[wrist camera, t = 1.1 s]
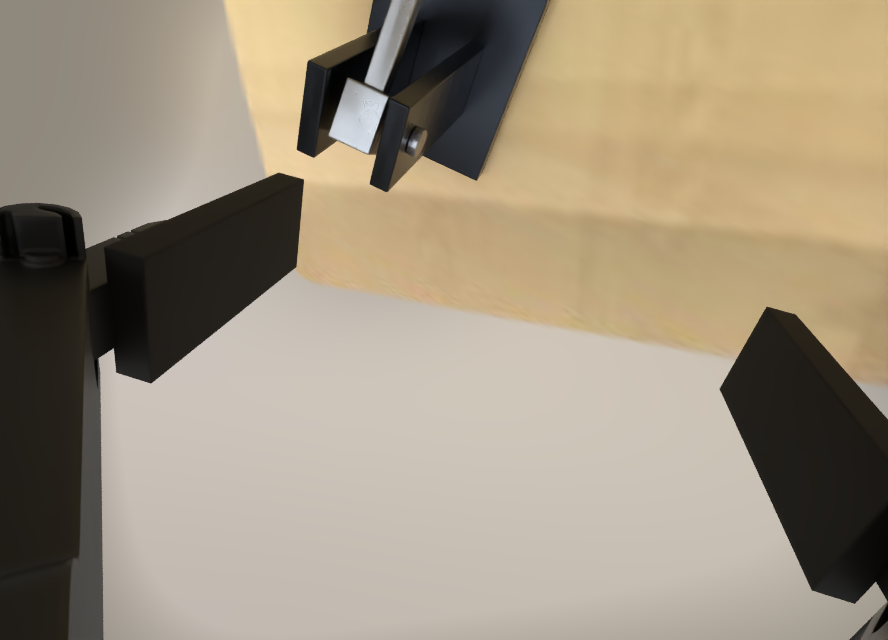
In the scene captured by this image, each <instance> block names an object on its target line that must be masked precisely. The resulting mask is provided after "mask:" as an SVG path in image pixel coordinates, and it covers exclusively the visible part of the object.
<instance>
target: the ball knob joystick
mask: <svg viewBox="0 0 888 640" xmlns="http://www.w3.org/2000/svg"><path fill="white" fill-rule="evenodd" d="M422 1H423V0H391V3H390V6H389V9H388V12H387V15H386V18H385V20H384V23H383V26H382V29H381V32H380V35H379V38H378V41H377V44H376V47H375V50H374V53H373V56H372V59H371V62H370V65H369V67H368V70H367V73H366V76H365V79H364V83H362V82H359V81H357V80H354V79H351V78H347V79H346V82H345V85H344V88H343V91H342V94H341V97H340V100H339V103H338V106H337V109H336V112H335V115H334V118H333V121H332V124H331V127H330V130H329V133H328V136H329V137H331V138H333V139H335V140H337V141H339V142H341V143H343V144H346V145H348V146H350V147H352V148H354V149H356V150H358V151H360V152H363V153H365V154H367V155H377V150H378V146H379V142H380V138H381V134H382V129H383V125H384V121H385V117H386V113H387V108H388V104H389V100H390V98H392V97H393V96H390V95H388V94H389V93H390V90H391V87H392V85H393V82H394V79H395V76H396V74H397V71H398V68H399V65H400V62H401V60H402V57H403V54H404V51H405V49H406V46H407V43H408V40H409V37H410V35H411V32H412V29H413V26H414V24H415V21H416V18H417V15H418V12H419V10H420V7H421V4H422Z"/></svg>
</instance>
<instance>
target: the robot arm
mask: <svg viewBox="0 0 888 640" xmlns="http://www.w3.org/2000/svg"><path fill="white" fill-rule="evenodd" d="M303 185H304V179H300V178H296V177H293V176H289V175H285V174H282V173H277V174H275V175H272V176H270V177H268V178H265V179H263V180H261V181H258V182H256V183H254V184H251V185H249V186H246V187H244V188H242V189H239V190H237V191H235V192H232V193H230V194H228V195H225V196H223V197H221V198H219V199H216V200H214V201H211V202H209V203H207V204H204V205H202V206H199V207H197V208H195V209H192V210H190V211H187V212H185V213H183V214H180V215H178V216H176V217H173V218H171V219H169V220H164V221H158V222H153V223H147V224H145V225H142V226H140V227H138V228H135V229H133V230H131V232H125V233H123V234H121V235H118V236H117V238H111V239H108V240H106V241H104V242H101V243H99V244H96V245H94V246H91V247H89V248H87V249H85V241H84V232H83V224H82V217H81V215H80V214H79V212H77V211H75V210H73V209H71V208H68V207H64V206H60V205H55V204H44V203H23V204H16V205H8V206H4V207H1V208H0V640H103V573H102V572H103V571H102V569H103V568H102V567H103V566H102V490H101V489H102V487H101V413H100V412H101V409H100V408H101V403H100V368H99V359H98V358H99V357H101V356H102V355H104V354H105V353H107V352H108V351H110V350H112V349H113V348H114V353H115V363H116V372H117V373H119V374H122V375H126V376H129V377H132V378H135V379H139V380H142V381H145V382H148V383H152V382H153V381H155V380H156V379H157V378H159V377H160V376H161V375H162V374H164V373H165V372H166V371H167V370H169V369H170V368H171V367H172V366H174V365H175V364H176V363H177V362H179V361H180V360H181V359H182V358H183V357H185V356H186V355H187V354H188V353H190V352H191V351H192V350H193V349H195V348H196V347H197V346H198V345H200V344H201V343H202V342H203V341H205V340H206V339H207V338H208V337H210V336H211V335H212V334H213V333H214V332H216V331H217V330H218V329H220V328H221V327H222V326H223V325H225V324H226V323H227V322H228V321H230V320H231V319H232V318H233V317H235V316H236V315H237V314H238V313H240V312H241V311H242V310H243V309H244V308H246V307H247V306H248V305H249V304H251V303H252V302H253V301H254V300H256V299H257V298H258V297H259V296H261V295H262V294H263V293H264V292H266V291H267V290H268V289H269V288H270V287H272V286H273V285H274V284H276V283H277V282H278V281H279V280H281V279H282V278H283V277H284V276H286V275H287V274H288V273H289V272H290V271H292V270H293V269H294V268H296V265H297V254H298V242H299V231H300V219H301V208H302V196H303ZM720 391H721V393H722V395H723V397H724V399H725V401H726V404H727V406H728V408H729V410H730V412H731V415H732V417H733V419H734V421H735V423H736V426H737V428H738V430H739V432H740V434H741V437H742V439H743V441H744V443H745V445H746V447H747V450H748V452H749V454H750V456H751V458H752V460H753V463H754V465H755V467H756V469H757V471H758V473H759V476H760V478H761V480H762V482H763V485H764V487H765V489H766V491H767V493H768V495H769V497H770V500H771V502H772V504H773V506H774V508H775V511H776V513H777V515H778V517H779V519H780V522H781V524H782V526H783V528H784V530H785V533H786V535H787V537H788V539H789V541H790V543H791V546H792V548H793V550H794V552H795V554H796V556H797V559H798V561H799V563H800V565H801V567H802V570H803V572H804V574H805V576H806V578H807V580H808V583H809V585H810V587H811V589H812V591H816V592H819V593H822V594H825V595H828V596H832V597H835V598H838V599H841V600H845V601H848V602H851V603H854V604H855V603H856V602H857V601H858V600H859V599H860V597H862V596H863V595H864V594H865V593H866V591H867V590H868V589H869V588H870V587H871V586H872V585H873V584H874V583H875V582H877V584H878V585H879V588H880V589H881V591H882V592H883V594H884V596H885V598H886V599H887V601H888V419H887V418H886V417H885V416H884V415H883V414H882V412H881V411H880V410H879V409H878V408H877V407H876V406H875V405H874V403H873V402H872V401H871V400H870V399H869V398H868V397H867V395H866V394H865V393H864V392H863V391H862V390H861V389H860V387H859V386H858V385H857V384H856V383H855V382H854V380H853V379H852V378H851V377H850V376H849V375H848V374H847V373H846V371H845V370H844V369H843V368H842V367H841V366H840V365H839V363H838V362H837V361H836V360H835V359H834V358H833V357H832V355H831V354H830V353H829V352H828V351H827V350H826V349H825V347H824V346H823V345H822V344H821V343H820V342H819V341H818V339H817V338H816V337H815V336H814V335H813V334H812V333H811V331H810V330H809V329H808V328H807V327H806V326H805V325H804V323H803V322H802V321H801V320H800V319H799V318H798V317H797V315H795V314H792V313H788V312H784V311H781V310H777V309H773V308H770V307H766V309H765V311H764V312H763V314H762V316H761V318H760V319H759V321H758V323H757V325H756V326H755V328H754V330H753V332H752V333H751V335H750V337H749V338H748V340H747V342H746V344H745V345H744V347H743V349H742V351H741V352H740V354H739V356H738V358H737V359H736V361H735V363H734V365H733V366H732V368H731V370H730V372H729V374H728V375H727V377H726V379H725V380H724V382H723V384H722V386H721V388H720ZM850 640H888V602H887V603H886V604H885V605H884V606H883V607H882V608H881V609H880V610H879V611H878V612H877V613H876V614H875V615H874V616H873V617H872V618H871V619H870V620H869V621H868V622H867V623H866V624H865V625H864V626H863V627H862V628H861V629H860V630H859V631H858V632H857V633H856V634H855V635H854V636H853V637H852V638H851V639H850Z"/></svg>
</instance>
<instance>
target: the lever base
mask: <svg viewBox="0 0 888 640" xmlns="http://www.w3.org/2000/svg"><path fill="white" fill-rule="evenodd" d="M550 1H551V0H423V1H422V4H421V7H420V10H419V12H418V15H417V18H416V21H415V24H414V26H413V29H412V32H411V35H410V37H409V40H408V43H407V46H406V49H405V51H404V54H403V57H402V60H401V62H400V65H399V68H398V71H397V74H396V76H395V79H394V82H393V85H392V87H391V90H390V93H389V94H388V95H390V96H393V97H392V98H390V100H389V104H388V108H387V113H386V117H385V121H384V125H383V129H382V134H381V138H380V142H379V146H378V150H377V155H376V159H375V163H374V167H373V171H372V176H371V180H370V185H372V186H374V187H376V188H379V189H381V190H383V191H385V192H388V191H389V190H390V189H391V188H392V187H393V186H394V185H395V184H396V182H397V181H398V180H399V179H400V178H401V177H402V176H403V175H404V174H405V173H406V172H407V171H408V170H409V169H410V168H411V167H412V166H413V165H414V164H415V163H416V162H417V161H418V160H419V159H420V158H421V157H422V156H424V157H427V158H429V159H431V160H433V161H435V162H437V163H439V164H442V165H444V166H446V167H448V168H450V169H452V170H454V171H457V172H459V173H461V174H463V175H465V176H467V177H469V178H472V179H474V180H476V181H477V180H478V178H479V177H480V175H481V174H482V172H483V170H484V167H485V165H486V162H487V160H488V157H489V155H490V152H491V150H492V147H493V144H494V142H495V139H496V137H497V134H498V132H499V129H500V127H501V124H502V122H503V119H504V117H505V114H506V112H507V109H508V107H509V104H510V102H511V99H512V97H513V94H514V92H515V89H516V87H517V84H518V82H519V79H520V76H521V74H522V71H523V69H524V66H525V64H526V61H527V59H528V56H529V54H530V51H531V49H532V46H533V44H534V41H535V39H536V36H537V34H538V31H539V29H540V26H541V24H542V21H543V19H544V16H545V13H546V11H547V8H548V6H549V3H550ZM390 3H391V0H373V4H372V9H371V14H370V19H369V25H368V30H367V34H366V35H363V36H361V37H359V38H357V39H355V40H352V41H350V42H348V43H346V44H344V45H341V46H339V47H337V48H335V49H333V50H330V51H328V52H326V53H324V54H322V55H319V56H317V57H315V58H313V59H311V60H309V61H308V63H307V71H306V79H305V87H304V95H303V103H302V111H301V119H300V127H299V135H298V143H297V150H298V151H300V152H302V153H304V154H307V155H309V156H311V157H316V156H317V155H318V154H320V153H321V152H323V151H324V150H325V149H327V148H328V147H329V146H331V145H332V144H334V143H335V142H336V141H337V140H335V139H333V138H331V137H329V136H328V133H329V130H330V127H331V124H332V121H333V118H334V115H335V112H336V109H337V106H338V103H339V100H340V97H341V94H342V91H343V88H344V85H345V82H346V79H347V78H351V79H354V80H357V81H359V82H362V83H364V79H365V76H366V73H367V70H368V67H369V65H370V62H371V59H372V56H373V53H374V50H375V47H376V44H377V41H378V38H379V35H380V32H381V29H382V26H383V23H384V20H385V18H386V15H387V12H388V9H389V6H390Z"/></svg>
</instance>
